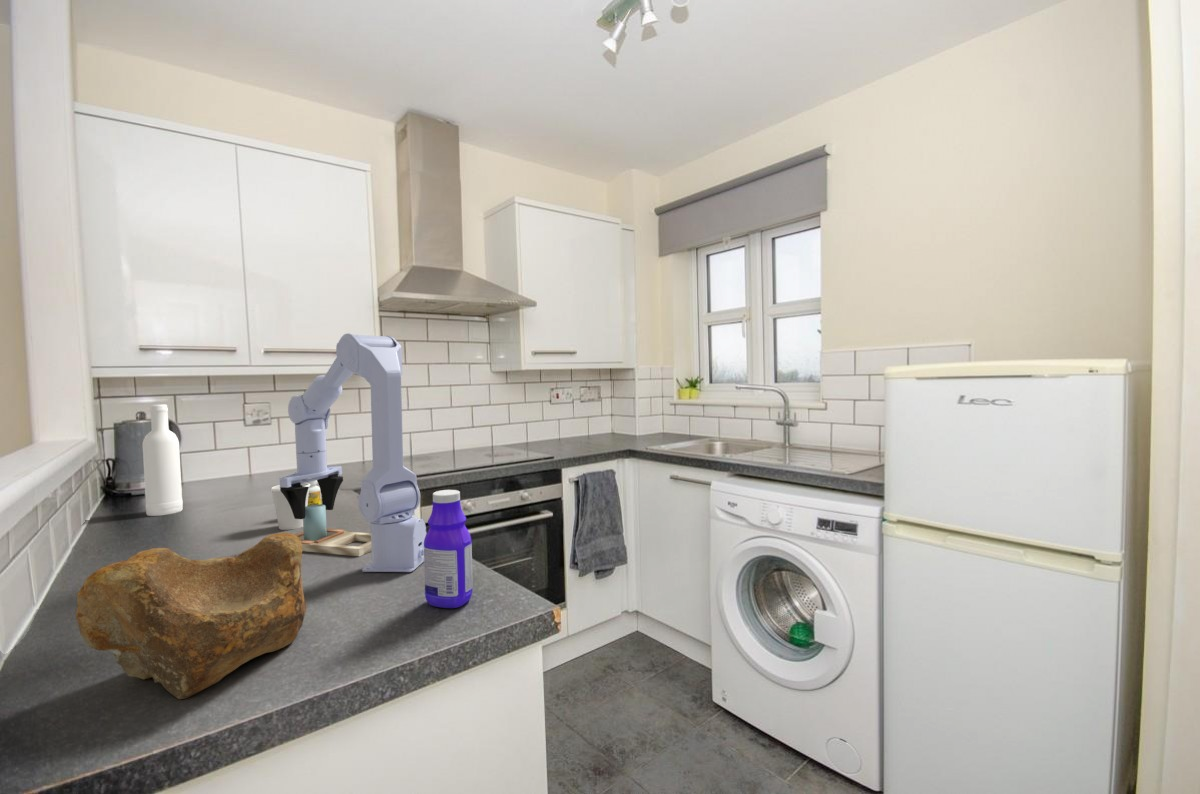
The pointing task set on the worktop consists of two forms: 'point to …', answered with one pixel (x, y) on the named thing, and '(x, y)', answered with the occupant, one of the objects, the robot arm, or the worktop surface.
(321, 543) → the wooden slot frame
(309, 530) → the peg
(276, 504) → the dixie cup
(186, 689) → the rough brown rock
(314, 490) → the supplement bottle
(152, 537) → the worktop surface
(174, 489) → the bottle
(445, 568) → the bottle
